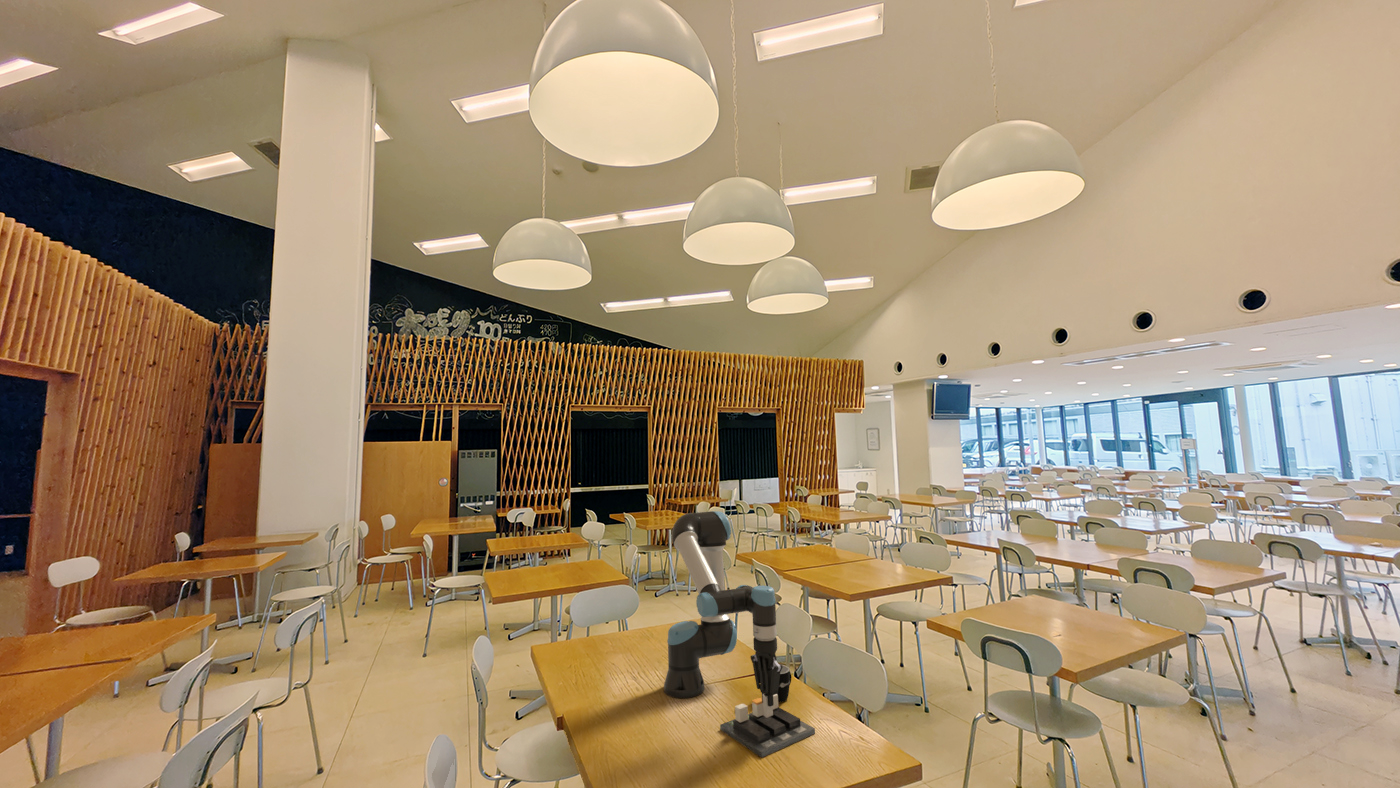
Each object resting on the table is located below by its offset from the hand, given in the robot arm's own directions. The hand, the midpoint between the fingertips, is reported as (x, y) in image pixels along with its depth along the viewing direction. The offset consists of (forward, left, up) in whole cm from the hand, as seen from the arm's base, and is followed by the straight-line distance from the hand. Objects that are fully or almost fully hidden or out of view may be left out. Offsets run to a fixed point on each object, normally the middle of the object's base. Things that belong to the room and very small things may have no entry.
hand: (768, 715), depth 167 cm
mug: (-16, +20, -5) cm, 26 cm away
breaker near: (-5, -6, -1) cm, 8 cm away
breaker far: (-5, +7, -1) cm, 9 cm away
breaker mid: (-5, 0, -1) cm, 5 cm away
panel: (-1, 0, -5) cm, 5 cm away
